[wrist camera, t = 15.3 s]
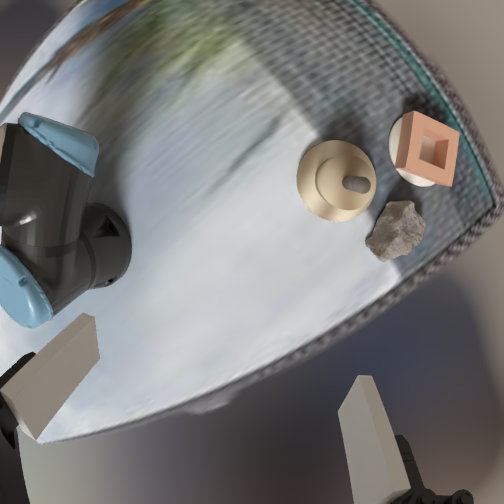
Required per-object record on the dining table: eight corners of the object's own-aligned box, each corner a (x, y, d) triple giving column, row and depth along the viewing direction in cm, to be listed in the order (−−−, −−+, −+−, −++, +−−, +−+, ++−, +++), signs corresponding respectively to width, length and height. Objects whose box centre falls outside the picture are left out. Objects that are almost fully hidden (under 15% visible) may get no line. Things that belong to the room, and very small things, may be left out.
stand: (289, 210, 41) (295, 227, 29) (305, 132, 38) (319, 115, 25) (363, 227, 41) (396, 251, 28) (380, 153, 37) (420, 149, 25)
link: (394, 167, 37) (405, 167, 33) (402, 114, 35) (414, 110, 31) (438, 184, 37) (451, 186, 33) (446, 134, 34) (459, 132, 31)
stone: (423, 224, 40) (441, 232, 34) (386, 267, 43) (400, 281, 37) (394, 190, 39) (410, 195, 33) (355, 237, 42) (366, 247, 36)
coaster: (382, 173, 38) (383, 173, 38) (393, 103, 35) (395, 102, 34) (440, 195, 38) (442, 195, 37) (451, 129, 35) (453, 129, 34)
